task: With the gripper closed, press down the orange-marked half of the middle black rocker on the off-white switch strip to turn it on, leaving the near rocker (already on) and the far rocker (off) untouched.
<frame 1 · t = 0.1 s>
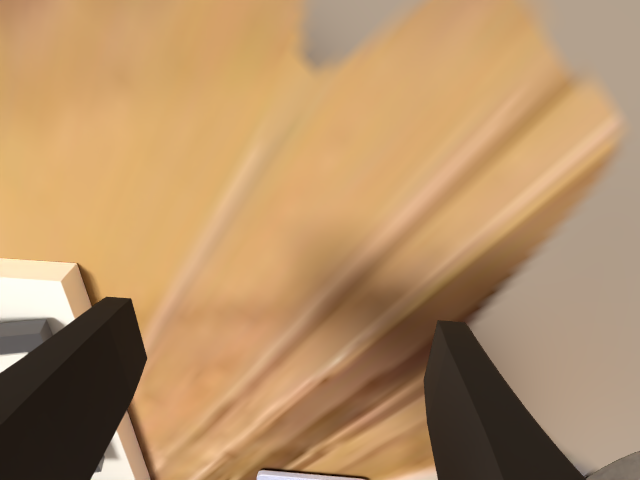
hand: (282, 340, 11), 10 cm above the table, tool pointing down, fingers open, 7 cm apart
switch strip: (48, 407, 30), on the table
rocker middle: (15, 456, 27), point 3 cm above the table, hinge at 14.0°
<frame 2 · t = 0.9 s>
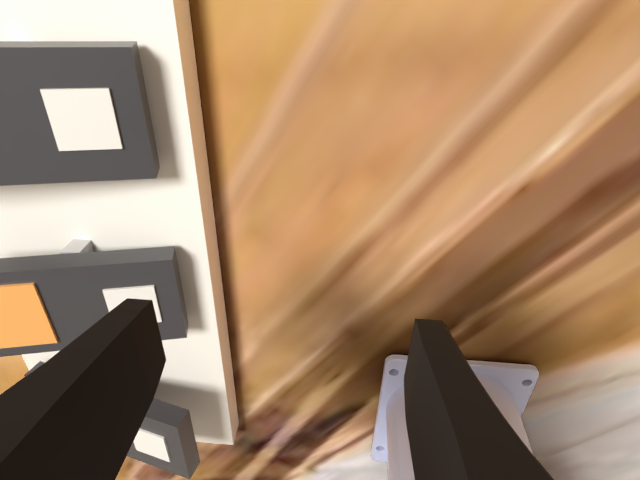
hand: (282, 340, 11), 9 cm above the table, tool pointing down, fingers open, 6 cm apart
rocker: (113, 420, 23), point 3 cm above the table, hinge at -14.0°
switch strip: (109, 257, 22), on the table
rocker middle: (70, 304, 19), point 3 cm above the table, hinge at 14.0°
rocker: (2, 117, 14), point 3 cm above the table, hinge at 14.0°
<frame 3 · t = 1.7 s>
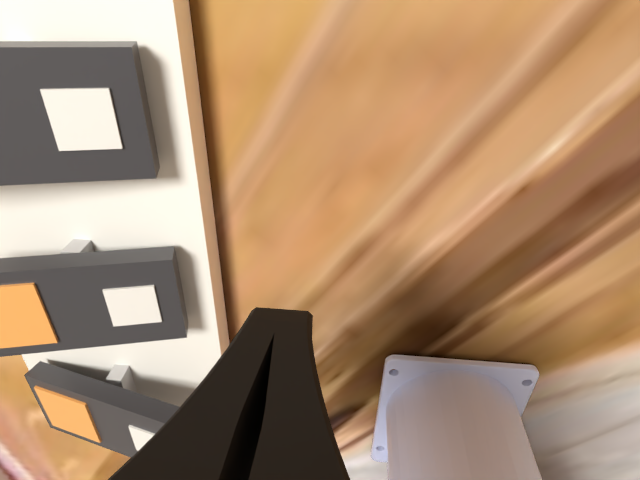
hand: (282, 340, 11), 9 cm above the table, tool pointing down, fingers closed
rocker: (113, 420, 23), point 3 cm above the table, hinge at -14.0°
switch strip: (109, 257, 22), on the table
rocker middle: (70, 304, 19), point 3 cm above the table, hinge at 14.0°
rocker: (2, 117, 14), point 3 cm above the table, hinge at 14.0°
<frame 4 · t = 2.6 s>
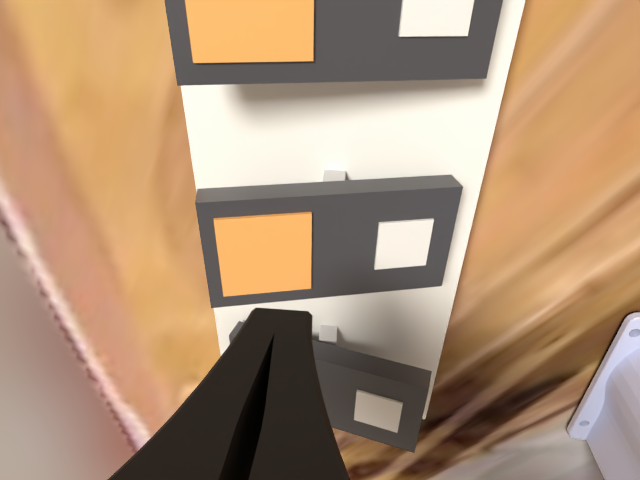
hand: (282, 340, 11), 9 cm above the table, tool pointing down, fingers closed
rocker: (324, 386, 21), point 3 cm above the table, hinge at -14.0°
switch strip: (335, 198, 19), on the table
rocker middle: (330, 242, 16), point 3 cm above the table, hinge at 14.0°
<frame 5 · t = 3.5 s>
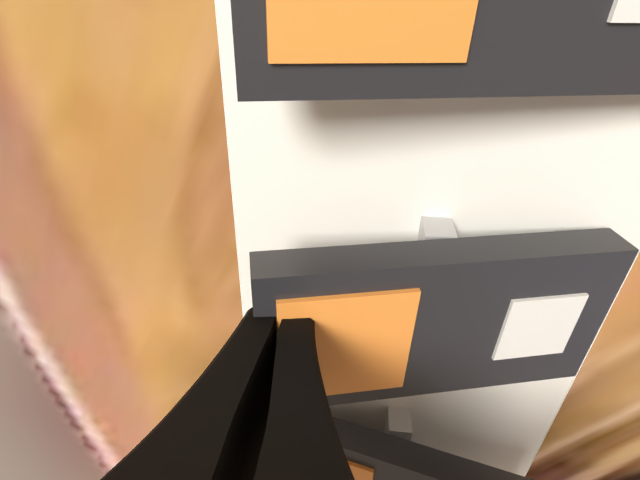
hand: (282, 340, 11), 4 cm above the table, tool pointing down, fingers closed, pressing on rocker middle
switch strip: (419, 247, 14), on the table
rocker middle: (434, 323, 11), point 3 cm above the table, hinge at 13.9°, touching gripper
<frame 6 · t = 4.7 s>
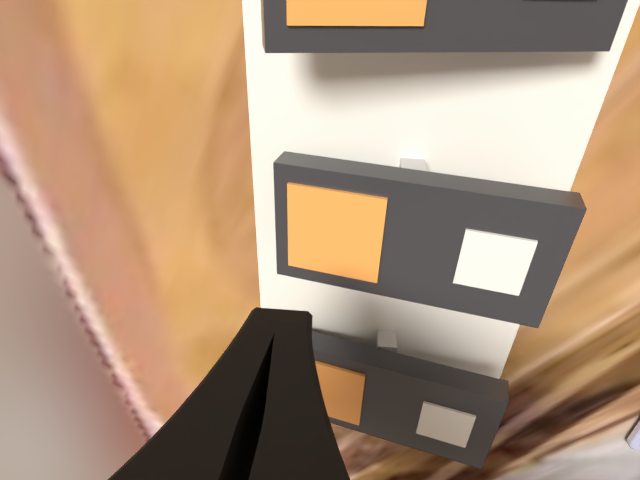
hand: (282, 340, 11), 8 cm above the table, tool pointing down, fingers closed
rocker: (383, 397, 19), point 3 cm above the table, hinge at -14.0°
switch strip: (401, 191, 17), on the table
rocker middle: (409, 239, 15), point 3 cm above the table, hinge at -12.4°
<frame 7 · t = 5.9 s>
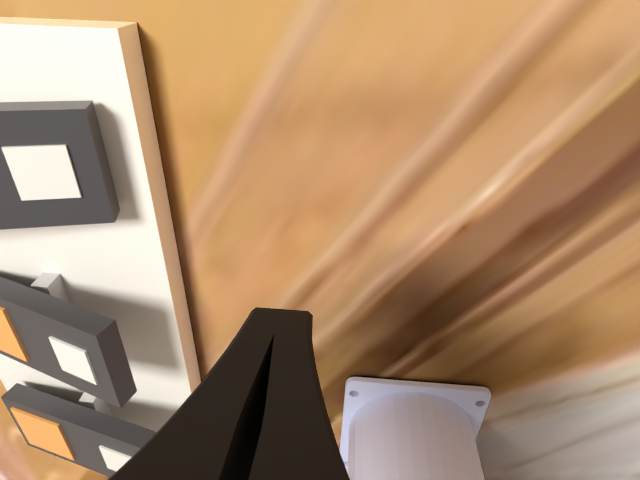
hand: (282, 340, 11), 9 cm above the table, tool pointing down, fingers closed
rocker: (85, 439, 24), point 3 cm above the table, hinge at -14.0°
switch strip: (80, 286, 23), on the table
rocker middle: (39, 334, 20), point 3 cm above the table, hinge at -18.8°, touching switch strip
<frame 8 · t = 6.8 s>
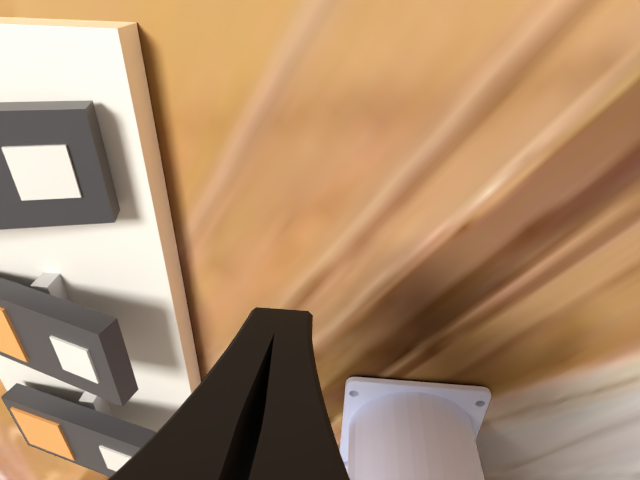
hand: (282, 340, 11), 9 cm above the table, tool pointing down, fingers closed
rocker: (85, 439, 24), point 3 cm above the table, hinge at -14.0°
switch strip: (80, 286, 23), on the table
rocker middle: (39, 334, 20), point 3 cm above the table, hinge at -17.5°
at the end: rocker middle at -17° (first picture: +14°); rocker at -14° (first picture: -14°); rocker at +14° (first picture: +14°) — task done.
